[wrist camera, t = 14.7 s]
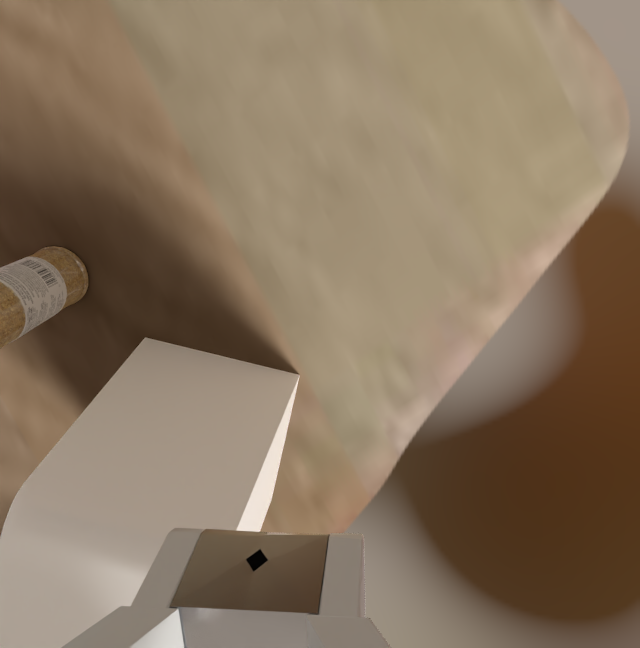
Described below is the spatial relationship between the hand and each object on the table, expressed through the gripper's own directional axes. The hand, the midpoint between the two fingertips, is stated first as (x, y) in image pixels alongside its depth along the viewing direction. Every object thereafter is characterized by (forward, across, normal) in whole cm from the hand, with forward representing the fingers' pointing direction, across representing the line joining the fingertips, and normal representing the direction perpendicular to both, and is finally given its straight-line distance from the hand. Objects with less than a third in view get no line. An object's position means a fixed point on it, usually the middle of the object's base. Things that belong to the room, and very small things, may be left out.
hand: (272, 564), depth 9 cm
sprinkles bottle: (+33, +22, +4) cm, 40 cm away
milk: (+33, +12, +16) cm, 39 cm away
